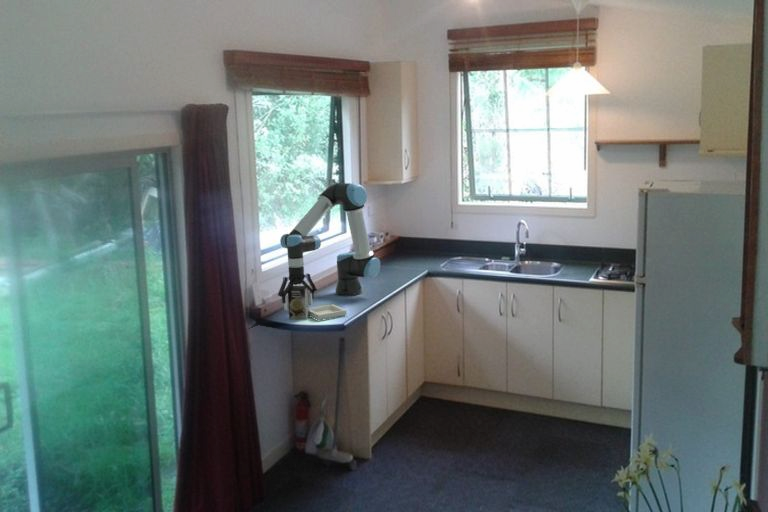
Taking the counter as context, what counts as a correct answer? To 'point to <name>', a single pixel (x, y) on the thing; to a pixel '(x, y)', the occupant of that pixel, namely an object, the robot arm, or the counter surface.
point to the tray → (326, 312)
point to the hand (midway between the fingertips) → (298, 307)
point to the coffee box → (298, 302)
